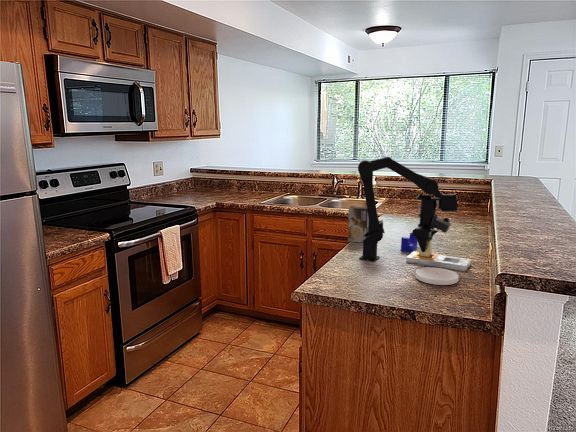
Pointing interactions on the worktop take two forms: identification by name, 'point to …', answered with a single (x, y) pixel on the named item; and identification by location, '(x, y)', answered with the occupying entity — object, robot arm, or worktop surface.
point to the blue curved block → (408, 243)
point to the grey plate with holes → (440, 261)
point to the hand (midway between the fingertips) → (425, 250)
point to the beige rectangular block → (427, 249)
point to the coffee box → (357, 223)
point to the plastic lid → (437, 276)
